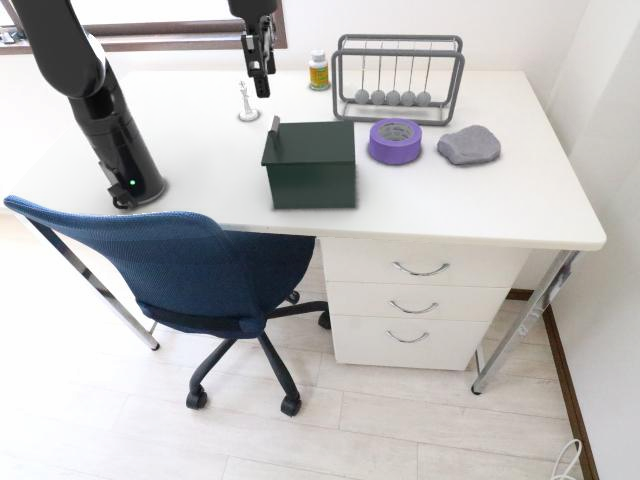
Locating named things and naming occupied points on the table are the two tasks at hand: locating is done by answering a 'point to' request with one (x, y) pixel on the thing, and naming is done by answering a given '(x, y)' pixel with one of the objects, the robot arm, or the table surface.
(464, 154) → the stone block
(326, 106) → the table surface
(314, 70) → the supplement bottle
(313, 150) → the bin lid
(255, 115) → the chess piece
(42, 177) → the table surface
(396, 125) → the tape roll
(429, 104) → the newton's cradle
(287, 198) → the waste bin
